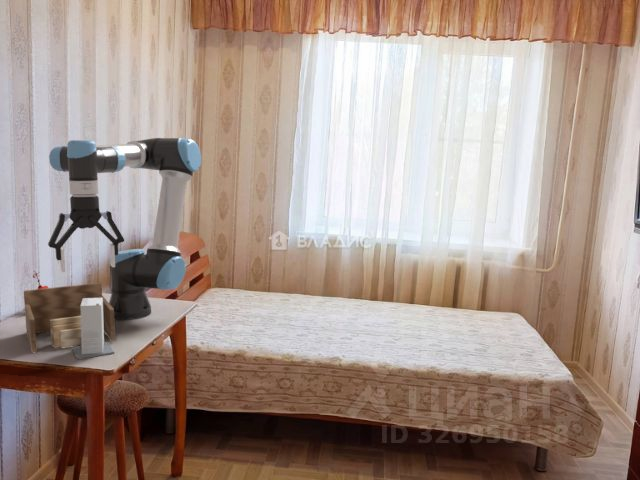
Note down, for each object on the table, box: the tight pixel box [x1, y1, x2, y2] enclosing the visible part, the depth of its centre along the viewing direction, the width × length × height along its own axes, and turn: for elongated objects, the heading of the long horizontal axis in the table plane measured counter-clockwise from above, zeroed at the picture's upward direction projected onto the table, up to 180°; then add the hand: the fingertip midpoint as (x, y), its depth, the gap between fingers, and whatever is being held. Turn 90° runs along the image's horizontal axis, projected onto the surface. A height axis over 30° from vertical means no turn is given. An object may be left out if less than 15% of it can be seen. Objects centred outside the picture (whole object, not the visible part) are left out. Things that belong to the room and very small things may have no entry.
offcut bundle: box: [50, 316, 82, 349], centre depth 179 cm, size 12×5×8 cm, turn 120°
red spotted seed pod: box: [32, 270, 49, 289], centre depth 213 cm, size 8×7×15 cm
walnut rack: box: [23, 282, 116, 353], centre depth 185 cm, size 23×21×14 cm
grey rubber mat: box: [72, 341, 115, 360], centre depth 173 cm, size 10×10×1 cm
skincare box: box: [80, 298, 105, 354], centre depth 172 cm, size 8×6×15 cm
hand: (88, 268), depth 169 cm, fingers open, 13 cm apart
